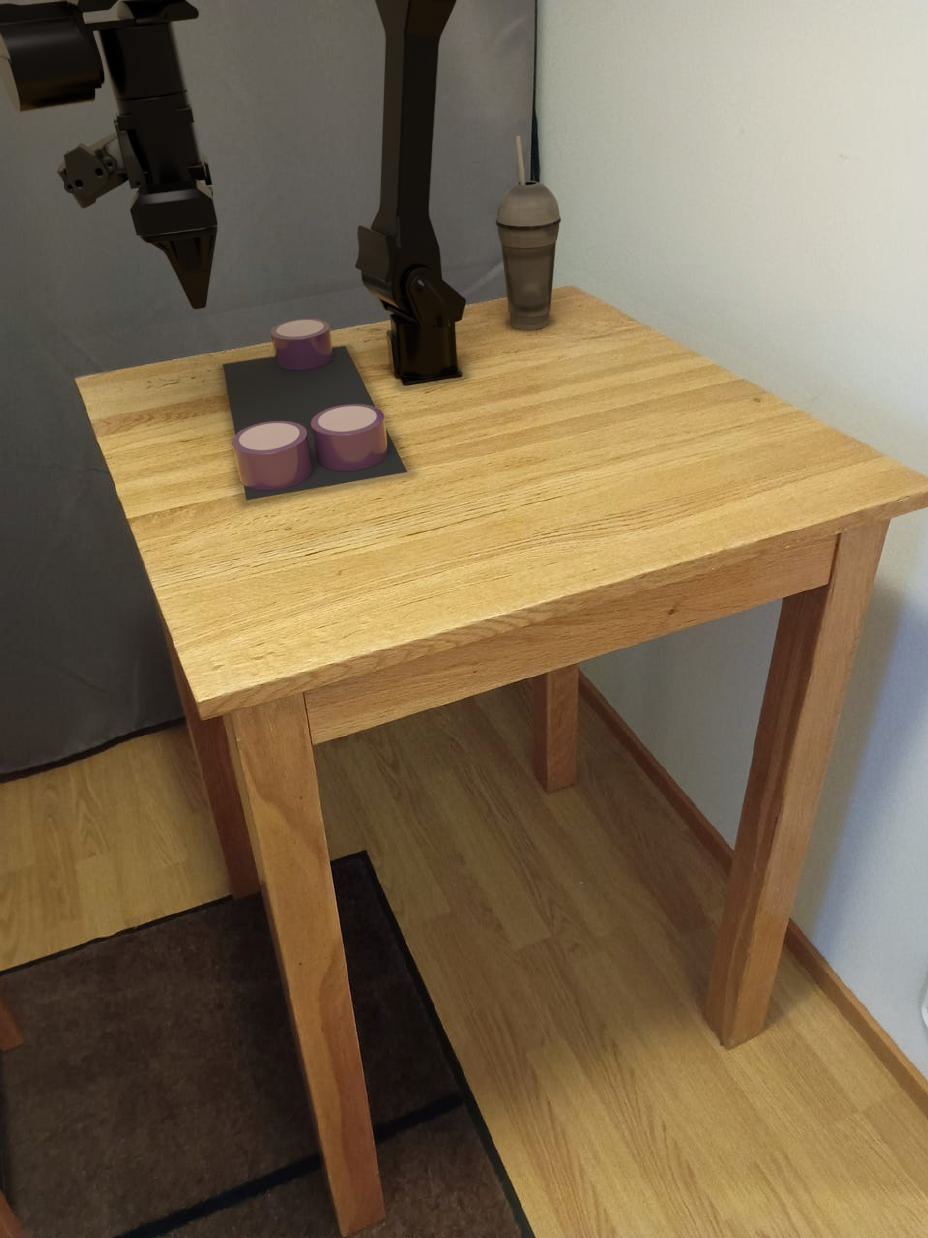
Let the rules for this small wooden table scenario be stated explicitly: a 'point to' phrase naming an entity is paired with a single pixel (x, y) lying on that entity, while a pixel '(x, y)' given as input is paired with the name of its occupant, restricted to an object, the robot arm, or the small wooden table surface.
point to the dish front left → (350, 437)
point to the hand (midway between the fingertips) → (198, 292)
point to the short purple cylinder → (302, 344)
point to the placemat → (301, 409)
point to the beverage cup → (528, 249)
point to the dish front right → (272, 455)
